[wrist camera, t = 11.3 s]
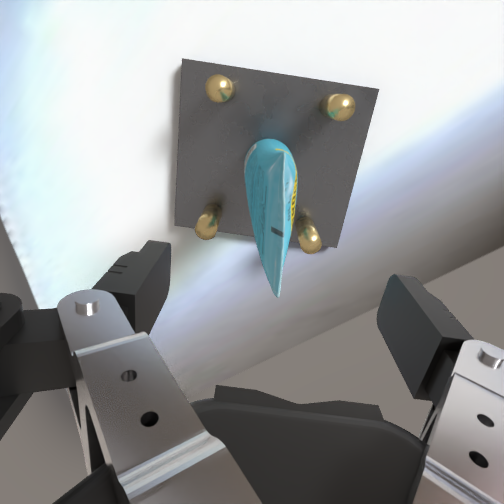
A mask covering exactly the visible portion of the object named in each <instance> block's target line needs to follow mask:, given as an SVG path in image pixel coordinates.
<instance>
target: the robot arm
mask: <svg viewBox="0 0 504 504" xmlns="http://www.w3.org/2000/svg"><path fill="white" fill-rule="evenodd" d="M170 267H171V244H170V243H166V242H159V241H151V240H149V241H148V242H147V243H146V244H145V245H144V247H143V248H142V249H141V250H140V252H133V251H131V252H129V253H127V254H125V255H123V256H121V257H120V258H119V259H118V260H117V261H116V262H115V263H114V264H113V266H112V267H111V268H110V269H109V270H108V272H106V273H105V274H104V275H103V277H102V278H101V279H100V280H99V281H98V282H97V283H96V284H95V285H94V287H93V288H92V289H90V290H81V291H77V292H74V293H71V294H69V295H67V296H65V297H64V298H63V299H61V300H60V302H59V303H58V305H57V308H53V309H39V310H23V307H22V302H21V299H20V298H19V297H17V296H15V295H12V294H7V293H0V440H1V439H2V437H3V436H4V434H5V433H6V431H7V430H8V429H9V427H10V426H11V424H12V423H13V421H14V420H15V419H16V417H17V416H18V414H19V413H20V411H21V410H22V409H23V407H24V406H25V404H26V403H27V401H28V400H29V398H30V397H31V396H32V394H33V392H39V391H47V390H54V389H61V388H67V391H68V394H69V398H70V402H71V406H72V409H73V413H74V417H75V420H76V424H77V428H78V431H79V435H80V439H81V443H82V447H83V452H84V458H85V463H86V468H87V473H88V476H87V477H86V478H85V479H83V480H82V481H81V482H80V483H78V484H77V485H76V486H75V487H73V488H72V489H71V490H69V491H68V492H67V493H65V494H64V495H63V496H62V497H60V498H59V499H58V500H57V501H55V502H54V503H53V504H504V350H502V349H500V348H498V347H496V346H494V345H492V344H489V343H487V342H483V341H479V340H474V339H473V337H472V336H471V335H470V334H469V333H468V332H467V330H466V329H465V328H464V327H463V326H462V325H461V323H460V322H459V321H458V320H455V317H454V315H453V314H452V313H451V312H449V310H448V309H447V307H446V306H445V305H444V304H443V303H442V302H441V301H440V300H439V299H437V298H436V297H434V296H433V295H432V294H430V293H429V292H427V290H426V289H425V288H424V287H423V285H422V284H421V283H420V282H419V281H418V280H417V278H415V277H409V276H402V275H395V274H394V275H392V276H391V277H390V278H389V281H388V283H387V286H386V289H385V292H384V295H383V297H382V300H381V303H380V306H379V309H378V313H377V325H378V328H379V330H380V332H381V334H382V336H383V338H384V340H385V342H386V344H387V346H388V348H389V350H390V352H391V354H392V356H393V358H394V360H395V362H396V364H397V366H398V368H399V370H400V372H401V374H402V376H403V378H404V380H405V382H406V384H407V386H408V388H409V390H410V392H411V394H412V396H413V398H414V399H421V400H429V401H432V403H433V404H432V406H431V408H430V410H429V412H428V415H427V417H426V420H425V422H424V425H423V427H422V430H421V432H420V435H419V437H416V436H414V435H413V434H411V433H410V432H408V431H406V430H405V429H403V428H401V427H399V426H397V425H395V424H393V423H391V422H388V421H386V420H384V419H383V417H382V414H381V411H380V409H379V406H378V405H371V404H363V403H355V402H346V401H329V402H320V403H309V404H296V403H293V402H290V401H287V400H284V399H281V398H278V397H275V396H272V395H269V394H266V393H264V392H260V391H257V390H251V389H244V388H236V387H228V386H219V385H216V389H215V395H214V398H210V399H204V400H199V401H195V402H192V403H189V401H188V400H187V398H186V396H185V395H184V393H183V391H182V390H181V388H180V386H179V385H178V383H177V382H176V380H175V378H174V377H173V375H172V373H171V372H170V370H169V368H168V367H167V365H166V364H165V362H164V360H163V359H162V357H161V355H160V354H159V352H158V350H157V349H156V347H155V346H154V344H153V342H152V341H151V339H150V337H149V334H150V332H151V329H152V327H153V325H154V323H155V321H156V319H157V317H158V315H159V313H160V311H161V309H162V307H163V305H164V302H165V300H166V298H167V295H168V291H169V285H170Z"/></svg>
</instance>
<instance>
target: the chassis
mask: <svg viewBox="0 0 504 504" xmlns="http://www.w3.org/2000/svg"><path fill="white" fill-rule="evenodd" d="M378 92H379V89H375V88H369V87H362V86H356V85H349V84H343V83H337V82H330V81H324V80H317V79H311V78H304V77H298V76H292V75H285V74H279V73H272V72H266V71H260V70H253V69H247V68H240V67H234V66H227V65H221V64H215V63H208V62H202V61H195V60H189V59H183V58H182V73H181V95H180V117H179V139H178V161H177V183H176V205H175V226H182V227H189V228H195V232H196V234H197V236H198V237H200V238H201V239H204V240H209V239H212V238H213V237H214V236H215V234H216V232H217V231H218V232H226V233H233V234H240V235H247V236H254V231H253V227H252V222H251V217H250V211H249V206H248V200H247V193H246V184H245V173H244V161H245V157H246V154H247V152H248V150H249V149H250V147H251V146H252V145H253V144H255V143H256V142H258V141H260V140H263V139H275V140H278V141H280V142H282V143H283V144H285V145H286V146H287V147H288V149H289V150H290V152H291V154H292V156H293V159H294V162H295V164H296V169H297V177H298V184H297V198H296V207H295V214H294V221H293V226H292V231H291V236H290V241H291V242H298V243H300V246H301V249H302V251H303V252H305V253H307V254H314V253H316V252H318V251H319V250H320V248H321V246H327V247H334V248H337V245H338V241H339V238H340V234H341V230H342V226H343V223H344V219H345V215H346V211H347V208H348V204H349V200H350V196H351V193H352V189H353V185H354V181H355V178H356V174H357V170H358V167H359V163H360V159H361V155H362V152H363V148H364V144H365V140H366V137H367V133H368V129H369V125H370V122H371V118H372V114H373V110H374V107H375V103H376V99H377V95H378ZM254 237H255V236H254Z"/></svg>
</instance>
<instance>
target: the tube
mask: <svg viewBox="0 0 504 504" xmlns="http://www.w3.org/2000/svg"><path fill="white" fill-rule="evenodd" d="M244 173H245V184H246V193H247V200H248V206H249V211H250V217H251V222H252V227H253V231H254V236H255V240H256V244H257V248H258V251H259V255H260V258H261V261H262V265H263V268H264V270H265V273H266V276H267V278H268V281H269V283H270V285H271V288H272V291H273V293H274V295H275V296H276V297H277V298H279V296H280V287H281V279H282V268H283V265H284V261H285V257H286V253H287V249H288V245H289V241H290V236H291V231H292V226H293V221H294V214H295V207H296V198H297V184H298V177H297V169H296V164H295V162H294V159H293V156H292V154H291V152H290V150H289V149H288V147H287V146H286V145H285V144H283V143H282V142H280V141H278V140H275V139H263V140H260V141H258V142H256V143H255V144H253V145H252V146H251V147H250V149H249V150H248V152H247V154H246V157H245V161H244Z"/></svg>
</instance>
